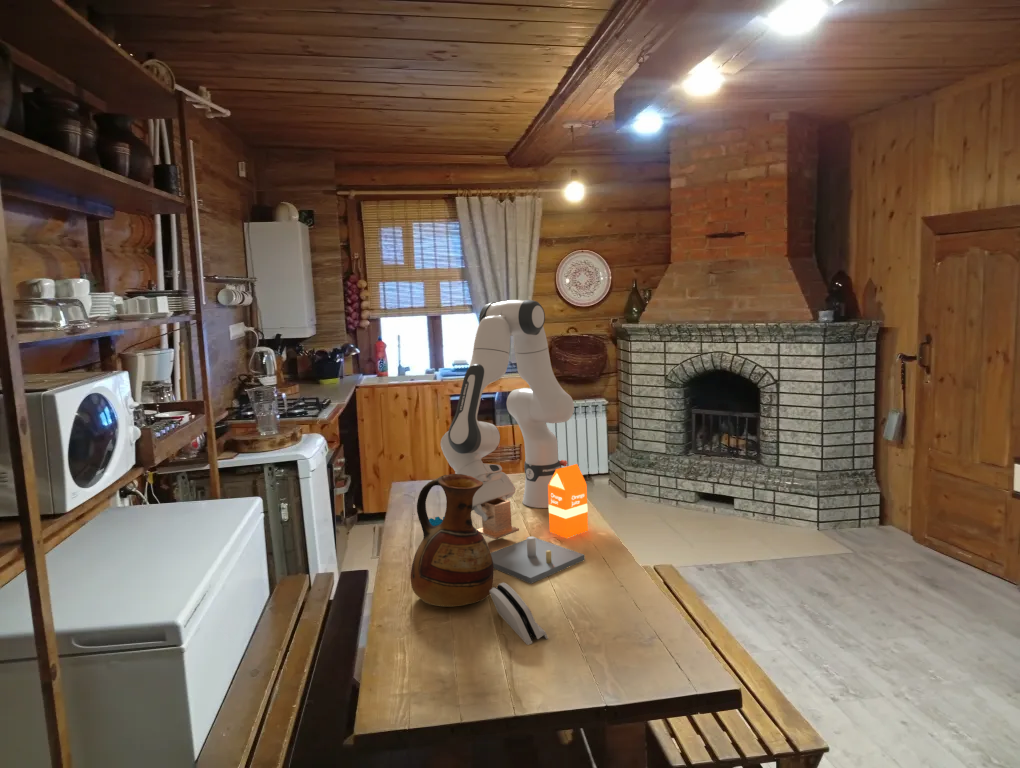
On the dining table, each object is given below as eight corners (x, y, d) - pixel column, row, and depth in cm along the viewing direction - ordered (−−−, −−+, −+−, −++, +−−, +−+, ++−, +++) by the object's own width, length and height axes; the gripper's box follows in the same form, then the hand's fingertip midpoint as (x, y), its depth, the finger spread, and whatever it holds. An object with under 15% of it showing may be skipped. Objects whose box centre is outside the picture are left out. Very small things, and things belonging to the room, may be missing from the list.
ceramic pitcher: (484, 619, 156) (477, 490, 152) (399, 615, 160) (390, 489, 156) (503, 582, 175) (497, 466, 171) (426, 579, 179) (419, 466, 175)
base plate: (533, 541, 201) (532, 520, 200) (584, 559, 186) (583, 536, 186) (479, 562, 188) (478, 539, 187) (530, 583, 173) (529, 558, 172)
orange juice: (549, 531, 209) (546, 467, 206) (571, 524, 214) (568, 461, 211) (566, 538, 203) (564, 472, 200) (588, 531, 208) (586, 466, 205)
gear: (463, 527, 212) (453, 512, 204) (462, 545, 208) (452, 531, 200) (428, 531, 214) (417, 517, 206) (427, 549, 210) (416, 535, 202)
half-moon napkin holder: (549, 639, 146) (532, 600, 143) (530, 651, 144) (513, 612, 142) (517, 607, 161) (501, 571, 159) (499, 617, 160) (483, 582, 157)
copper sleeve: (498, 523, 209) (497, 494, 207) (519, 530, 202) (517, 500, 201) (475, 531, 203) (473, 502, 202) (495, 539, 196) (493, 509, 195)
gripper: (450, 479, 198) (474, 520, 193) (504, 463, 212) (527, 501, 206) (442, 491, 202) (465, 531, 197) (495, 475, 216) (518, 512, 210)
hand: (497, 515), depth 201 cm, fingers closed on copper sleeve, 6 cm apart
